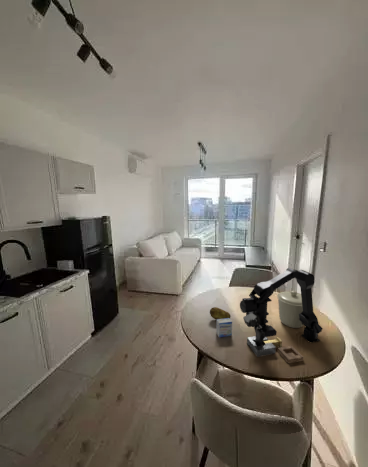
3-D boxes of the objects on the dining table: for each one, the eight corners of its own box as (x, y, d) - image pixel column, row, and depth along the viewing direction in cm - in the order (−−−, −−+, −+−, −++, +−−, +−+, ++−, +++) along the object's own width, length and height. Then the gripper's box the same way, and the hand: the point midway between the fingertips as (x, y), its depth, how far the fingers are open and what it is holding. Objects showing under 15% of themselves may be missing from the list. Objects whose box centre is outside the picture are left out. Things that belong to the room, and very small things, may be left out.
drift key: (277, 343, 113) (278, 336, 113) (281, 347, 110) (282, 340, 110) (262, 345, 111) (262, 339, 111) (266, 349, 108) (266, 343, 108)
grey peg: (260, 343, 111) (261, 324, 109) (264, 347, 108) (265, 328, 106) (253, 344, 110) (254, 325, 109) (257, 348, 107) (258, 329, 105)
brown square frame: (291, 349, 109) (291, 345, 108) (303, 360, 101) (303, 356, 101) (277, 351, 107) (277, 348, 107) (288, 363, 99) (288, 359, 99)
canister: (313, 333, 121) (316, 299, 117) (279, 330, 124) (281, 296, 121) (302, 316, 138) (305, 286, 135) (272, 313, 142) (274, 284, 138)
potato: (229, 325, 129) (229, 313, 128) (208, 321, 133) (208, 310, 132) (230, 318, 137) (231, 306, 136) (211, 314, 141) (211, 303, 140)
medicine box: (218, 337, 118) (219, 323, 117) (216, 332, 122) (216, 319, 121) (232, 335, 120) (232, 321, 118) (228, 331, 124) (229, 317, 123)
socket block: (263, 340, 115) (264, 334, 115) (275, 353, 106) (275, 347, 105) (247, 343, 113) (247, 337, 113) (257, 356, 104) (257, 350, 103)
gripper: (237, 302, 113) (236, 329, 116) (256, 322, 95) (254, 353, 98) (256, 300, 115) (255, 326, 118) (278, 319, 97) (276, 349, 100)
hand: (259, 337), depth 108 cm, fingers closed on grey peg, 4 cm apart
